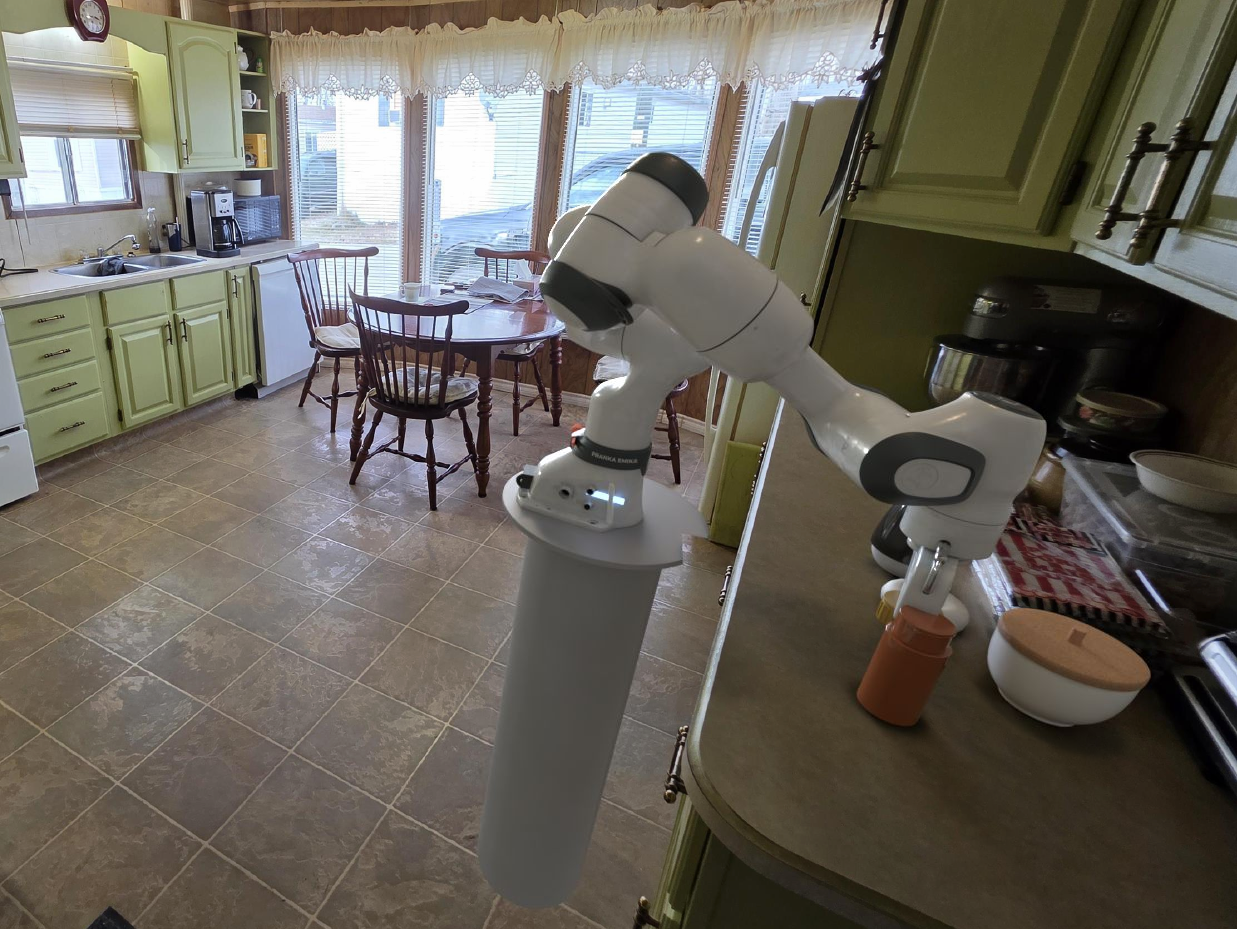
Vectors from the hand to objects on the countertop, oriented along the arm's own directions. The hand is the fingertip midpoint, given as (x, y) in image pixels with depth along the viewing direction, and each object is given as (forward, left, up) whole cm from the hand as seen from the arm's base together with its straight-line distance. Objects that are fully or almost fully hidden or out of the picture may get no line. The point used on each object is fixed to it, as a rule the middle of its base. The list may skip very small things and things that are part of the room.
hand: (906, 621), depth 85 cm
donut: (+6, +11, -5) cm, 14 cm away
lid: (0, 0, 0) cm, 0 cm away
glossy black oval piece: (+7, +23, -5) cm, 25 cm away
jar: (-3, -11, -5) cm, 13 cm away
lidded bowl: (+14, -3, -5) cm, 15 cm away
